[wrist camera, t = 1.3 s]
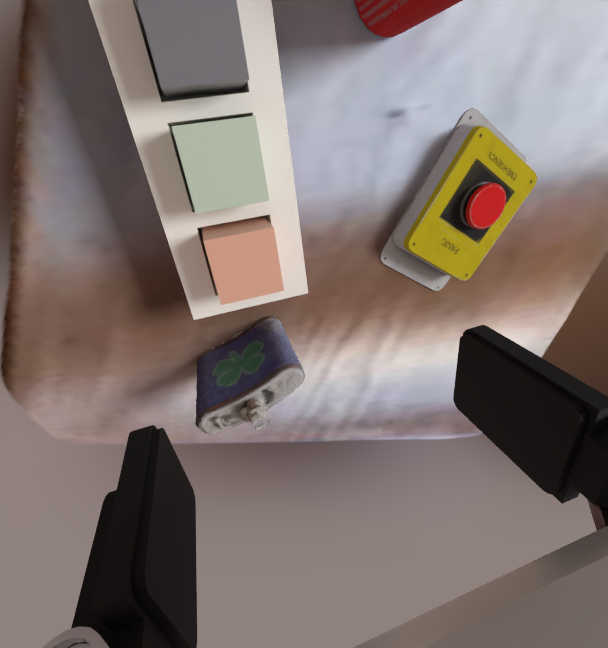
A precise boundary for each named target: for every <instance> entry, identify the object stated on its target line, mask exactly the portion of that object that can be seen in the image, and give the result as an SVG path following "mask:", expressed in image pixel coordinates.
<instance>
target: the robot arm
mask: <svg viewBox="0 0 608 648" xmlns="http://www.w3.org/2000/svg"><path fill="white" fill-rule="evenodd" d="M454 403H455V405H456V407H457V408H458V409H459V410H460V411H461V412H462V413H463V414H464V415H465V416H466V417H467V418H468V419H469V420H470V421H471V422H472V423H473V424H474V425H475V426H476V427H477V428H478V429H479V430H481V431H482V432H483V433H484V434H485V435H486V436H487V437H488V438H489V439H490V440H491V441H492V442H493V443H494V444H495V445H496V446H497V447H498V448H499V449H500V450H502V451H503V452H504V453H505V454H506V455H507V456H508V457H509V458H510V459H511V460H512V461H513V462H514V463H515V464H516V465H517V466H518V467H519V468H520V469H521V470H522V471H523V472H524V473H525V474H527V475H528V476H529V477H530V478H531V479H532V480H533V481H534V482H535V483H536V484H537V485H538V486H539V487H540V488H541V489H542V490H544V491H545V492H547V493H549V494H552V495H554V496H555V497H556V498H557V499H558V500H559V501H560V502H561V503H565V502H567V501H569V500H571V499H574V498H576V497H578V495H579V493H581V494H583V495H584V496H585V497H586V498H587V500H588V503H589V507H590V510H591V513H592V517H593V520H594V523H595V527H596V530H597V531H596V532H594V533H592V534H590V535H587V536H585V537H583V538H581V539H579V540H577V541H575V542H573V543H570V544H568V545H566V546H564V547H562V548H560V549H558V550H556V551H553V552H551V553H549V554H547V555H545V556H543V557H541V558H539V559H537V560H534V561H533V562H530V563H528V564H526V565H524V566H522V567H520V568H518V569H516V570H514V571H511V572H509V573H507V574H505V575H503V576H501V577H499V578H497V579H495V580H493V581H491V582H489V583H486V584H484V585H482V586H480V587H478V588H476V589H474V590H472V591H470V592H468V593H466V594H464V595H461V596H459V597H457V598H455V599H453V600H451V601H449V602H447V603H445V604H443V605H441V606H439V607H436V608H434V609H432V610H430V611H428V612H426V613H424V614H422V615H420V616H418V617H416V618H414V619H412V620H410V621H408V622H405V623H404V624H401V625H399V626H398V627H395V628H393V629H391V630H389V631H387V632H385V633H383V634H381V635H379V636H377V637H375V638H373V639H371V640H368V641H367V642H364V643H362V644H360V645H358V646H356V647H355V648H608V397H607V396H606V395H604V394H602V393H600V392H599V391H597V390H595V389H594V388H592V387H590V386H588V385H587V384H585V383H583V382H582V381H580V380H578V379H576V378H575V377H573V376H571V375H570V374H568V373H566V372H564V371H563V370H561V369H559V368H557V367H556V366H554V365H552V364H551V363H549V362H547V361H546V360H544V359H542V358H540V357H539V356H537V355H535V354H534V353H532V352H530V351H528V350H527V349H525V348H523V347H522V346H520V345H518V344H516V343H515V342H513V341H511V340H510V339H508V338H506V337H504V336H503V335H501V334H499V333H498V332H496V331H494V330H493V329H491V328H489V327H487V326H485V325H481V326H477V327H474V328H471V329H467V330H465V332H464V333H463V336H462V337H461V338H460V343H459V352H458V361H457V370H456V379H455V389H454ZM195 509H196V508H195V495H194V491H193V488H192V486H191V484H190V482H189V480H188V478H187V476H186V474H185V472H184V470H183V468H182V466H181V463H180V461H179V459H178V457H177V455H176V453H175V451H174V449H173V447H172V445H171V443H170V440H169V438H168V436H167V434H166V432H165V430H164V429H163V428H160V429H156V427H155V426H154V425H152V426H148V427H145V428H142V429H138V430H135V431H132V432H131V433H130V434H129V437H128V442H127V447H126V451H125V455H124V460H123V465H122V469H121V474H120V478H119V482H118V487H117V490H115V491H113V492H110V493H108V494H107V495H106V497H105V499H104V502H103V505H102V509H101V513H100V517H99V521H98V525H97V529H96V533H95V537H94V541H93V545H92V548H91V552H90V556H89V560H88V564H87V568H86V572H85V576H84V580H83V584H82V589H81V592H80V596H79V600H78V604H77V608H76V612H75V616H74V620H73V624H72V628H71V629H69V630H66V631H64V632H63V633H61V634H59V635H58V636H56V637H55V638H53V639H52V640H50V641H49V642H48V643H47V644H46V645H45V646H44V647H43V648H196V646H197V592H196V510H195Z"/></svg>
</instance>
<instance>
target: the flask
mask: <svg viewBox="0 0 608 648" xmlns="http://www.w3.org/2000/svg"><path fill="white" fill-rule="evenodd" d="M255 323H256V324H255V325H253V326H251V327H249V328H246V329H245V330H244V329H243V330H242V331H240V332H237V333H236V334H234V335H233V336H232V338H231V339H230V340H229V341H227V342H224V341H223V342H222V343H221V344H220V345H219V346H218V347H214V348H213V347H212V348H211V349H209V350H207V351H205V352H203V353H201V354H200V355H199V357H198V360H197V362H196V363H197V399H196V403H197V404H196V423H195V424H196V426H197V427H198V428H199V429H201V430H202V431H203V432H205V433H208V434H215V433H220V432H222V431H224V430H226V429H229V428H231V427H234V426H237V425H239V424H242V423H244V422H252V424H251V425H255V424H258V423H259V422H262V421H263V420H264V419H265V418H266V416H265V412H266V410H268V409H269V408H270V407H272V406H273V405H275V404H277V403H278V402H279V401H281V400H282V399H283V398H284V397H286V396H287V395H289V394H290V393H292V392H293V391H294V390H295V389H296V388H297V387H299V386H300V385H301V384H302V382H303V381H304V378H305V374H304V371H303V368H302V366H301V364H300V362H299V360H298V358H297V356H296V354H295V352H294V350H293V348H292V346H291V344H290V342H289V339H288V337H287V335H286V333H285V331H284V329H283V326H282V324H281V322H280V321H279V320H278V319H277V318H275V317H274V316H272V317H266V318H263V319H260V320H258V321H256V322H255ZM269 422H271V419H269V420H268V423H269ZM266 425H267V424H264V423H262V424H261V425H259V426H255V429H256V430H260V429H264V428H265V427H266Z"/></svg>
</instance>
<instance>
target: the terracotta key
mask: <svg viewBox="0 0 608 648" xmlns="http://www.w3.org/2000/svg"><path fill="white" fill-rule="evenodd" d="M202 233H203V242H204V245H205V249H206V253H207V256H208V260H209V263H210V267H211V271H212V274H213V278H214V282H215V285H216V289H217V292H218V296H219V300H220V303H221V305H224V304H229V303H233V302H237V301H242V300H246V299H250V298H255V297H259V296H263V295H268V294H272V293H276V292H281V291H284V286H283V280H282V274H281V268H280V262H279V256H278V250H277V244H276V238H275V232H274V227H273V226H272V225H271V224H270V223H269V222H268V221H267V220H266V219H265V218H264V217H263V216H259V217H254V218H248V219H243V220H237V221H232V222H227V223H221V224H216V225H210V226H205V227H202Z"/></svg>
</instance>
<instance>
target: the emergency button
mask: <svg viewBox="0 0 608 648" xmlns="http://www.w3.org/2000/svg"><path fill="white" fill-rule="evenodd" d="M536 182H537V175H536V173H535V172H534V171H533V170H532V169H531V168H530V167H529V166H528V165H527V164H526V159H525V156H524V155H523V154H522V153H521V152H520V151H519V150H518V149H517V148H516V147H515V146H514V145H513V144H512V143H511V142H510V141H509V140H508V139H507V138H506V137H505V136H504V135H503V134H502V133H501V132H500V131H498V130H497V129H496V128H495V127H494V126H493V125H492V124H491V123H490V122H489V121H488V120H487V119H486V118H485V117H484V116H483V115H482V114H481V113H480V112H479V111H478V110H476V109H473V108H472V109H470V110H467V111H466V112H465V113H464V114H463V116H462V117H461V118H460V120H459V122H458V123H457V125H456V127H455V129H454V130H453V132H452V134H451V135H450V137H449V139H448V140H447V142H446V144H445V145H444V147H443V149H442V150H441V152H440V154H439V155H438V157H437V159H436V160H435V162H434V164H433V166H432V167H431V169H430V171H429V172H428V174H427V176H426V177H425V179H424V181H423V182H422V184H421V186H420V187H419V189H418V191H417V192H416V194H415V196H414V198H413V199H412V201H411V203H410V204H409V206H408V208H407V209H406V211H405V213H404V214H403V216H402V218H401V219H400V221H399V223H398V224H397V226H396V228H395V229H394V231H393V233H392V235H391V236H390V238H389V240H388V241H387V243H386V245H385V246H384V248H383V250H382V252H381V255H380V258H381V262H382V263H383V264H385V265H387V266H388V267H390V268H392V269H394V270H396V271H398V272H400V273H402V274H403V275H405V276H407V277H409V278H411V279H413V280H415V281H417V282H418V283H420V284H422V285H424V286H426V287H428V288H430V289H432V290H433V291H438V290H440V289H442V288H443V287H444V286H445V285H446V283H447V282H448V280H449V279H450V277H454V278H456V279H459V280H467V279H469V278H470V277H471V276H472V274H473V273H474V271H475V270H476V269H477V267H478V266H479V264H480V263H481V261H482V260H483V259H484V257H485V256H486V254H487V253H488V252H489V250H490V249H491V247H492V246H493V244H494V243H495V242H496V240H497V239H498V237H499V236H500V234H501V233H502V232H503V230H504V229H505V227H506V226H507V224H508V223H509V222H510V220H511V219H512V217H513V216H514V214H515V213H516V212H517V210H518V209H519V207H520V206H521V205H522V203H523V202H524V200H525V199H526V197H527V196H528V195H529V193H530V192H531V190H532V189H533V187H534V186H535V184H536Z"/></svg>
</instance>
